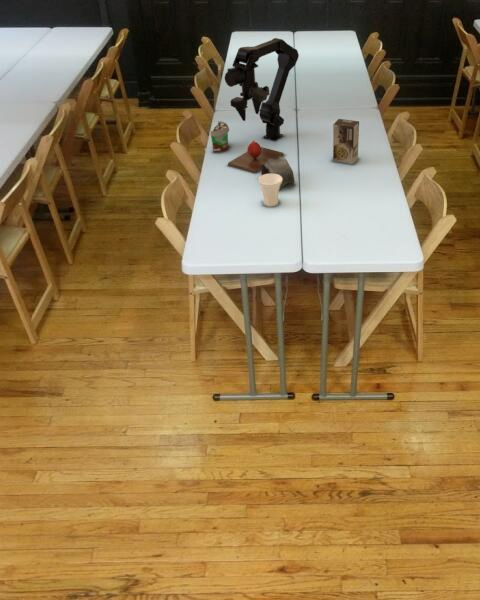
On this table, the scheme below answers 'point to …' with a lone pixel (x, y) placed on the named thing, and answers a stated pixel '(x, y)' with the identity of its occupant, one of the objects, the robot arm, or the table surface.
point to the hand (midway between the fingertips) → (250, 117)
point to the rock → (278, 169)
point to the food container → (220, 137)
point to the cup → (270, 188)
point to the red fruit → (254, 149)
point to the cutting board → (254, 160)
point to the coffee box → (345, 141)
